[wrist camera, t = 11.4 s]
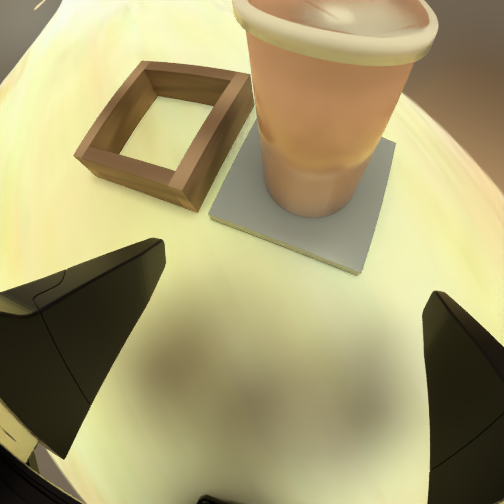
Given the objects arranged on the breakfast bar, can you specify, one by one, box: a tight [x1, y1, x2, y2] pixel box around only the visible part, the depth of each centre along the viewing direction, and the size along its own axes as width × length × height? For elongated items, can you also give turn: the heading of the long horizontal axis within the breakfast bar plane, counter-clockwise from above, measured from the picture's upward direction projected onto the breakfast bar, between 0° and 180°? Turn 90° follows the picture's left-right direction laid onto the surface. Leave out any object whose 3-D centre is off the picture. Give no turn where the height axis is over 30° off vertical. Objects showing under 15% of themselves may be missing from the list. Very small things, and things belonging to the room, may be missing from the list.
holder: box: [73, 61, 254, 213], centre depth 20 cm, size 10×10×4 cm
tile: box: [208, 119, 396, 275], centre depth 19 cm, size 10×10×1 cm
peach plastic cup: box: [232, 0, 438, 218], centre depth 13 cm, size 9×7×13 cm
